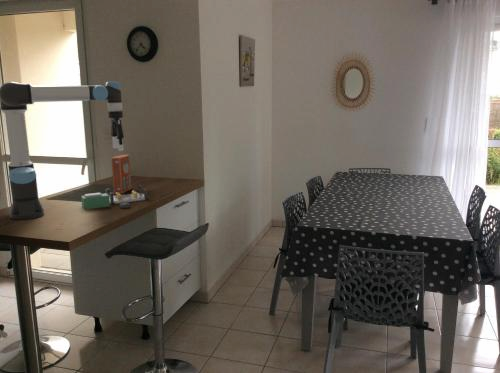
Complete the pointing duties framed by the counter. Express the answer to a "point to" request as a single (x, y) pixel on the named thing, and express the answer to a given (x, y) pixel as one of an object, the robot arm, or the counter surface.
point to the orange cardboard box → (121, 173)
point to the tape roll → (124, 205)
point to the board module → (95, 200)
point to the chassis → (127, 196)
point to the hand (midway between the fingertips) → (118, 149)
